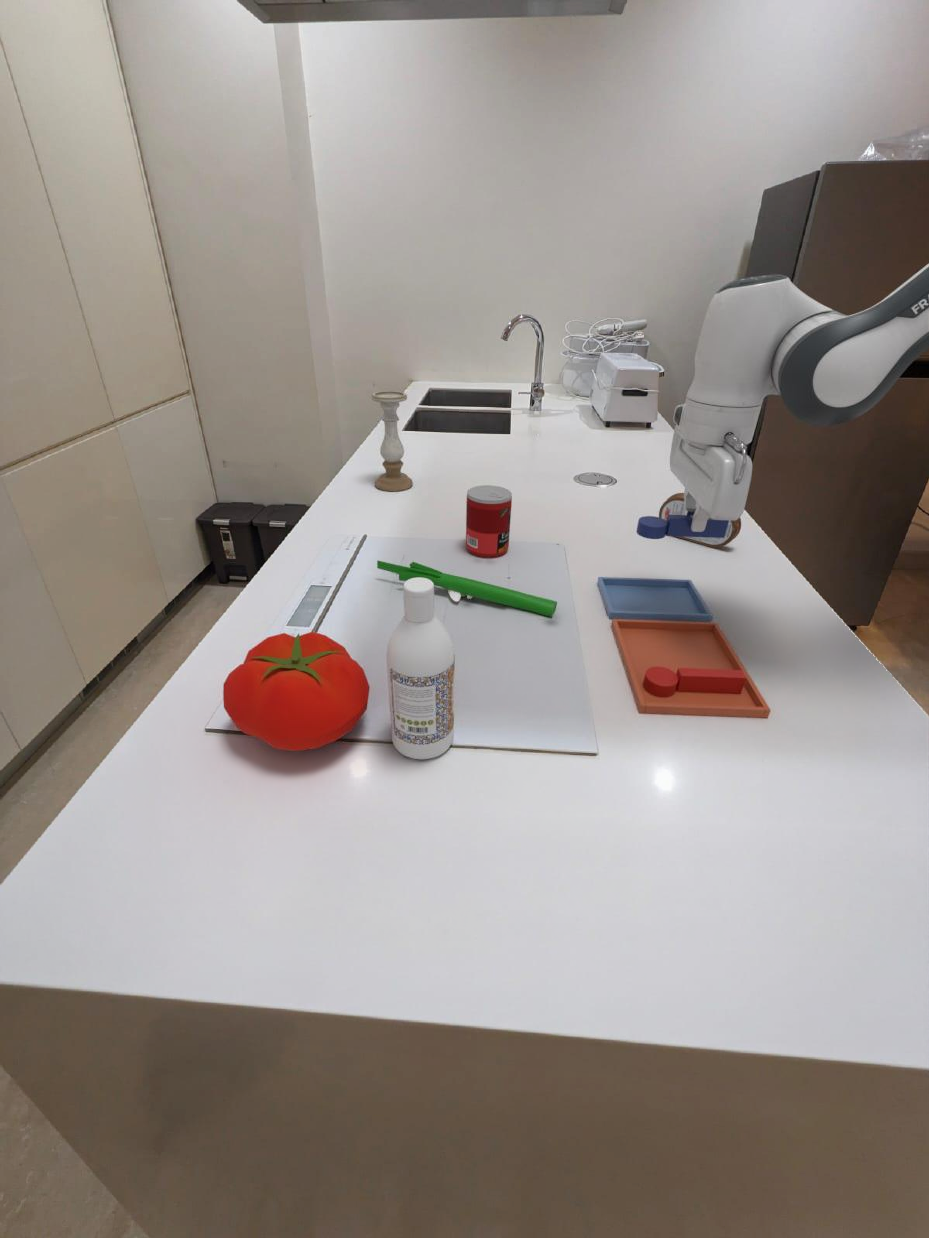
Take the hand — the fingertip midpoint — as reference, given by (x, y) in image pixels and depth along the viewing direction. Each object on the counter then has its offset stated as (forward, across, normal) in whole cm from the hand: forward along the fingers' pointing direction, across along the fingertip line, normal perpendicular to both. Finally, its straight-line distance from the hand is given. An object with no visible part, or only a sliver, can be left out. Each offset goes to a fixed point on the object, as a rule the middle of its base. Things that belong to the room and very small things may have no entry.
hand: (692, 525), depth 81 cm
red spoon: (+14, -18, +3) cm, 23 cm away
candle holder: (+15, +55, +50) cm, 76 cm away
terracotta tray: (+15, -14, +2) cm, 20 cm away
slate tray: (+15, +4, +2) cm, 15 cm away
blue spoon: (+1, 0, +2) cm, 3 cm away
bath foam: (+15, -28, +35) cm, 48 cm away
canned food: (+15, +22, +28) cm, 39 cm away
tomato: (+15, -26, +49) cm, 58 cm away
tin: (+15, +28, -12) cm, 34 cm away
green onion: (+15, +4, +32) cm, 36 cm away
